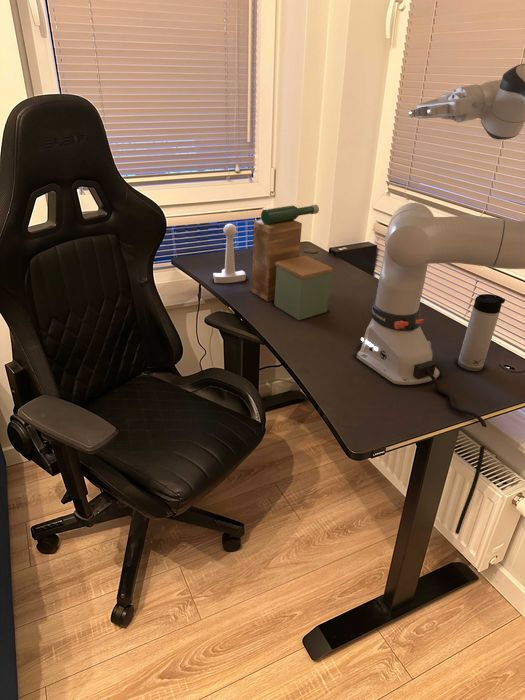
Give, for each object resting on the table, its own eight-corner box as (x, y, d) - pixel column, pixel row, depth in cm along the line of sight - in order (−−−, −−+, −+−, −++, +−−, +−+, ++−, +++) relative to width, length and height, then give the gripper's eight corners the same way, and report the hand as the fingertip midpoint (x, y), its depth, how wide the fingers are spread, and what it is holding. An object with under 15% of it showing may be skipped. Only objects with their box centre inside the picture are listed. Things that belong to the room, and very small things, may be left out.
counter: (328, 311, 158) (333, 268, 151) (298, 320, 152) (302, 275, 145) (301, 297, 167) (305, 255, 160) (272, 305, 161) (275, 261, 154)
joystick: (215, 283, 174) (215, 226, 164) (210, 275, 180) (210, 220, 170) (246, 281, 177) (248, 224, 167) (240, 273, 183) (241, 218, 173)
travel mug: (479, 374, 130) (501, 304, 119) (454, 366, 133) (473, 296, 123) (486, 365, 134) (508, 296, 124) (462, 356, 137) (481, 288, 127)
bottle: (269, 225, 153) (269, 211, 151) (260, 222, 156) (261, 208, 154) (320, 217, 164) (321, 203, 162) (311, 214, 167) (312, 200, 165)
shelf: (296, 293, 169) (302, 223, 157) (267, 301, 163) (271, 228, 151) (280, 284, 175) (284, 216, 163) (251, 291, 169) (253, 220, 157)
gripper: (488, 114, 131) (441, 124, 129) (443, 118, 150) (401, 126, 147) (489, 87, 129) (441, 97, 126) (442, 94, 147) (399, 103, 145)
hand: (419, 113), depth 137 cm, fingers open, 8 cm apart
